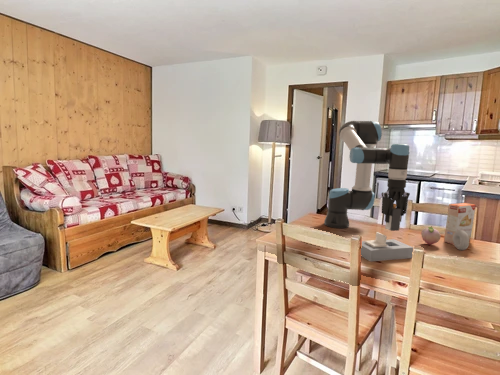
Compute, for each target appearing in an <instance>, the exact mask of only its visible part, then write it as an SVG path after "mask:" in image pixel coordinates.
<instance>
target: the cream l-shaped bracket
mask: <svg viewBox="0 0 500 375" xmlns="http://www.w3.org/2000/svg"><path fill="white" fill-rule="evenodd" d="M386 240H387V235H385V234H383V233H380V232H379V231H375V239H373V240H372V239H371V240H363V241H364V243H366V244H368V245H370V246H372V247H387V246H388V245H387V244H386Z"/></svg>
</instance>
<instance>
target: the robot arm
mask: <svg viewBox="0 0 500 375" xmlns="http://www.w3.org/2000/svg"><path fill="white" fill-rule="evenodd" d="M382 132H383V130H382V126H381V123H379V122H378V121H373V120H351V121H347V122H345V123H344V124H342V125H341V127H340V128H339V130H338V137H339V139H340V141H341V142H343V143H344V144H345V145H346V147H347V148H348V150H349V161H350V162H351V163H352V164H356V169H355V179H354V185H353V186H352V187H351V190H349V188H345V187H344V188H343V187H339V188H332V189H330V190H329V194H328V203H327V204H328V206H327V213H326V216H325V219H324V221H323V222H324V223H323V225H324V226H327V227H328V228H334V229H347V228H349V227H350V221H349V217H348V210H355V211H356V210H357V211H358V210H359V211H368V210H371V209H372V208H373V206H374V204H375V199H376V198H375V195H376V194H375V192H374V191H373V189H372V187H371V178H372V177H371V175H372V165H373V164H374V165H376V164H377V165H388V175H387V177H388V179H387V189H386V191H385V192H381V197H382V199H381V201H382V202H381V214H383V215H384V216H385V217H384V222H385V230H388V231H391V222H392V216H390V215H391V211H392V208H393V204H396V208H399V209H401V216H400V223H401V222H402V218H403V217H404V215H406V214H407V208H408V202H409V201H408V200H409V197H410V192H407V191H406V190H405V188H406V187H407V180H406V179H407V177H408V167H409V159H410V145H409V144H406V143H405V144H404V143H396V144H395V143H393V144H391V145H390V148H389V147H387V148H386V147H384V148H383V147H382V148H380V147H377V148H376V146H377V144H378V142H380V141H381V138H382V134H383V133H382ZM400 227H401V225H400V226H399V230H400Z"/></svg>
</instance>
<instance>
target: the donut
mask: <svg viewBox="0 0 500 375" xmlns="http://www.w3.org/2000/svg"><path fill="white" fill-rule="evenodd" d="M453 243H454V247H455V248H456V249H458V250H459V251H466V250H467V248H468V247H469V246H470V242H469V237H468V235H467V233H466V232H465V231H463V230H458V231H456V232H455V233H454V235H453Z"/></svg>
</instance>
